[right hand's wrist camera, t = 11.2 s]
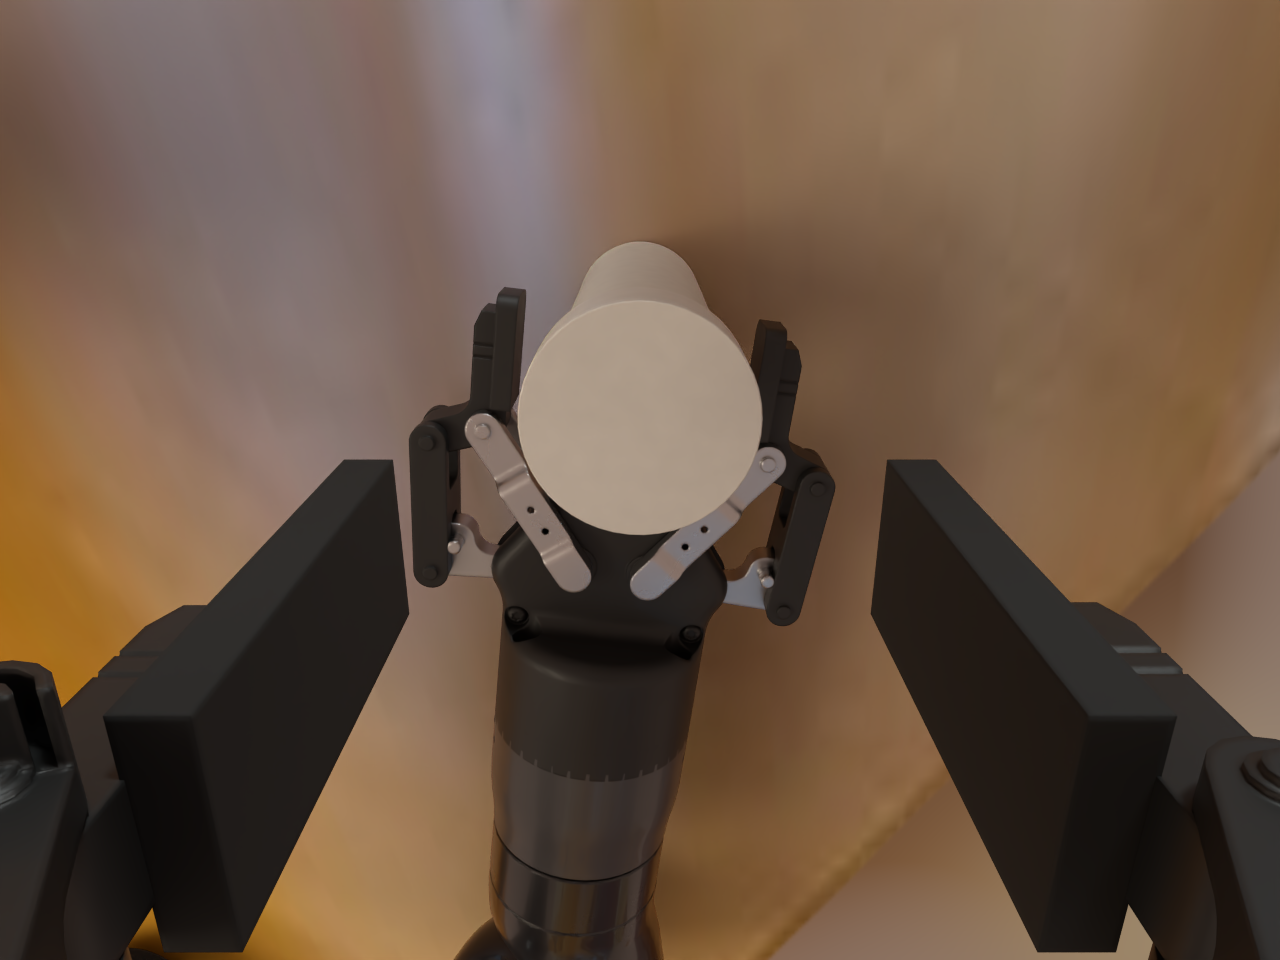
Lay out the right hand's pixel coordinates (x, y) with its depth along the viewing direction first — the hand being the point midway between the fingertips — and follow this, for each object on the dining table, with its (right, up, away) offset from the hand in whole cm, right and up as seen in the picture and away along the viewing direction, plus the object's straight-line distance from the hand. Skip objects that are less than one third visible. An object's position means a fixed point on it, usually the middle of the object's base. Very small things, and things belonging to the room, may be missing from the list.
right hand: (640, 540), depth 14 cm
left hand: (0, +7, +14) cm, 16 cm away
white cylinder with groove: (0, +2, +6) cm, 7 cm away
